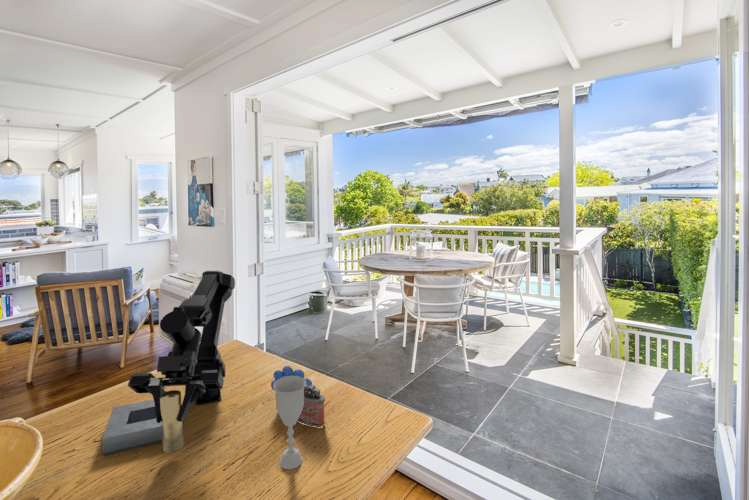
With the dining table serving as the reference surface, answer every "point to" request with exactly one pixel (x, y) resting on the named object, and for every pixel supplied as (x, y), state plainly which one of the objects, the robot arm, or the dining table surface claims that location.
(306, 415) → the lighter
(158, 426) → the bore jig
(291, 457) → the chalice
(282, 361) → the dining table surface
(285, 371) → the grapes
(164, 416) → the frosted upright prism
